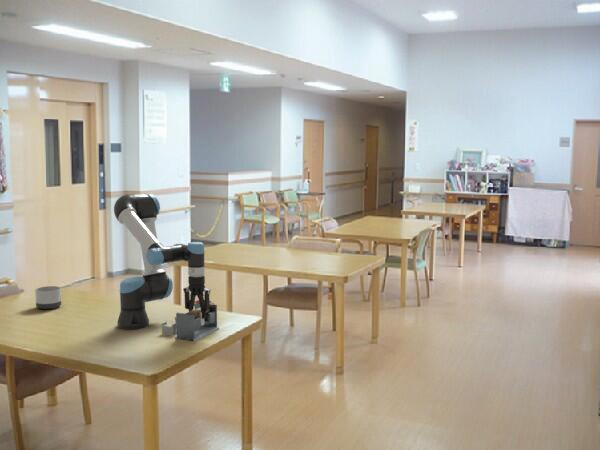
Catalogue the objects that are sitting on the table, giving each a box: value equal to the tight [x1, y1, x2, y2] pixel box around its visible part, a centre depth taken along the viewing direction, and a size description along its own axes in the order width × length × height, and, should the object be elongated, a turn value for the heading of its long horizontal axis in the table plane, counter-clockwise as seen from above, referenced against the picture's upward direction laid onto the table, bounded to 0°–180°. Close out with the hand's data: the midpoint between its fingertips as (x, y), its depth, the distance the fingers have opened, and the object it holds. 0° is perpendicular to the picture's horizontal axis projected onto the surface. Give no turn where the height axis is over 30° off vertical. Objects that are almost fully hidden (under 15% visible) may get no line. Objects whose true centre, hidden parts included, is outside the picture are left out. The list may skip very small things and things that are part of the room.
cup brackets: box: [175, 303, 218, 342], centre depth 295 cm, size 9×21×12 cm, turn 157°
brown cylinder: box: [185, 307, 210, 320], centre depth 294 cm, size 15×4×4 cm, turn 157°
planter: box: [34, 285, 62, 310], centre depth 342 cm, size 13×13×10 cm
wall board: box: [174, 326, 220, 342], centre depth 295 cm, size 11×21×1 cm, turn 157°
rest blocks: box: [160, 316, 177, 336], centre depth 300 cm, size 6×14×5 cm, turn 157°
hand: (197, 324), depth 295 cm, fingers closed on brown cylinder, 4 cm apart
